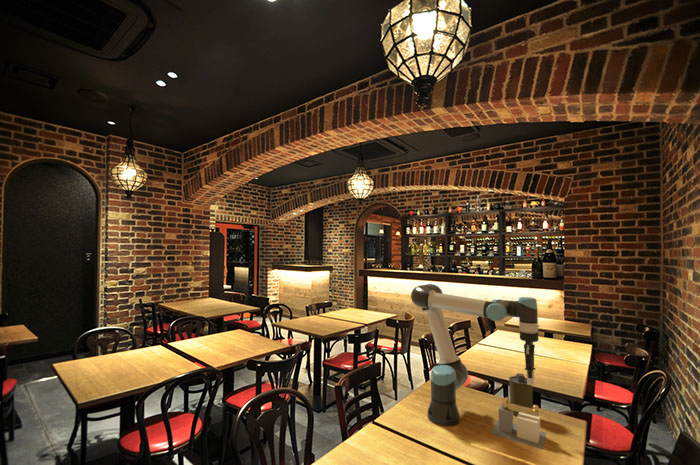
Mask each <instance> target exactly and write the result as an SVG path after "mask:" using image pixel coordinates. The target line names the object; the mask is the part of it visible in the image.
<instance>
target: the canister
mask: <svg viewBox="0 0 700 465" xmlns="http://www.w3.org/2000/svg"><path fill="white" fill-rule="evenodd" d="M508 380H509V403H511V404H515V405H519V406H523V407H527V408H531V409H533V405H534V404H533V403H534V402H533V386H532V385H527V377H526V376H525V374H524V373H516V375H515V376H514V375H513V376H509V378H508ZM518 413H519V412H517V411H513V417H515V418H517V416H518Z"/></svg>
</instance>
